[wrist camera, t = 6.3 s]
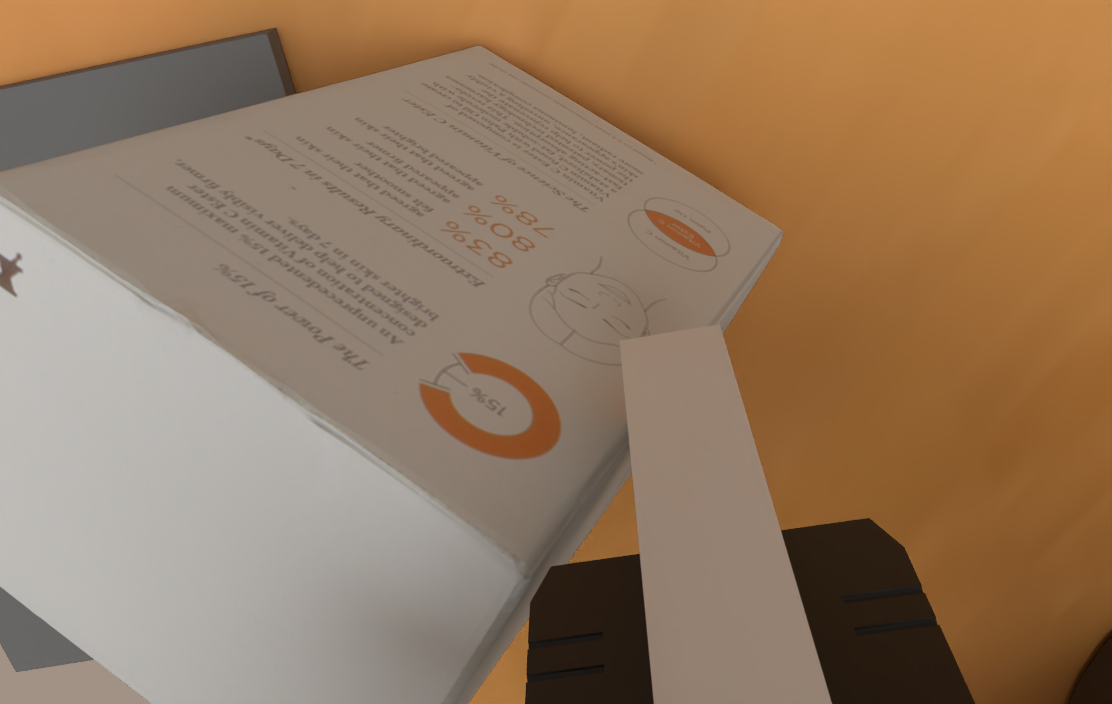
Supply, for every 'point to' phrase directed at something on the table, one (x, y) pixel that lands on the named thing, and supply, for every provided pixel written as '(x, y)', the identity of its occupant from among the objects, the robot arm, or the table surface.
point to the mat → (107, 116)
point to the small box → (335, 376)
